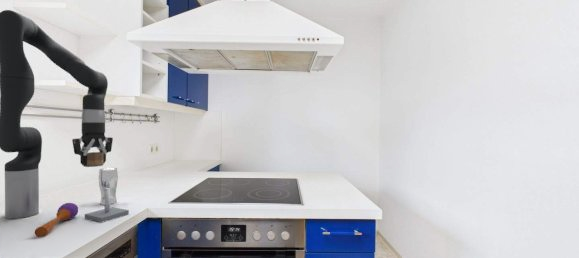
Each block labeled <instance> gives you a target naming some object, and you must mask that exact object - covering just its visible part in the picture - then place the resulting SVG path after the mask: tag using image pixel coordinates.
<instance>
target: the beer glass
mask: <svg viewBox="0 0 579 258" xmlns="http://www.w3.org/2000/svg"><path fill="white" fill-rule="evenodd" d="M118 175H119V174H118V168H117V167H105V168H100V169H98V187H99V190H100V201H99V204H100V205H101V206H105V189H106V188H109V189H110V205H114V204H116V203H117V195H116V193H117V187H118V183H119V181H118V179H119V178H118V177H119V176H118Z"/></svg>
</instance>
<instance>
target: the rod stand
mask: <svg viewBox="0 0 579 258" xmlns="http://www.w3.org/2000/svg"><path fill="white" fill-rule="evenodd" d="M129 214H130V212H129V209H124V208H120V207H119V208H118V207H115V206H111V204H110V189H109V188H106V189H105V205H104V208H103V209H98V210H96V211H91V212H88V213H84V219H86V220H90V219H91V221H94V220H95V221H94V222H98V221H100V222H99V223H104V222H107V221H106V220H108V221H111V220H114V219H117V218H116V217H118V218H120V216H121V217H124V216H126V215H129ZM123 215H124V216H123ZM113 218H114V219H113ZM110 219H111V220H110ZM103 221H104V222H103Z"/></svg>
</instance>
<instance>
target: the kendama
mask: <svg viewBox="0 0 579 258" xmlns="http://www.w3.org/2000/svg"><path fill="white" fill-rule="evenodd" d="M56 211H57V212H56V217H55V218H53V219H51V220H50V221H48V222H46V223H44V224H42V225H40V226H37V227H36V229H34V232H33V233H34V236H36V237H37V238H41V237H46V236H47V235H48V234H49V232H50V231H51V230H52V229H53V228H54V227H55V226H56V224H57V223H59V221H67V220H72V219H74V218H75V217H77V215H78V213H79V207H78V205H77V204H76V203H73V202H66V203H63V204H62V205H60V206H59V207H58V209H57V210H56Z"/></svg>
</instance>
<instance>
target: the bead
mask: <svg viewBox="0 0 579 258" xmlns="http://www.w3.org/2000/svg"><path fill="white" fill-rule="evenodd" d="M86 156H87V165H86V166H84V165H83V167H86V168H92V167H94V168H95V167H102V166H104V165H105V163H104V153H103V152H98V151H95V152H94V151H93V152H88V153H87V155H86Z"/></svg>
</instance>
